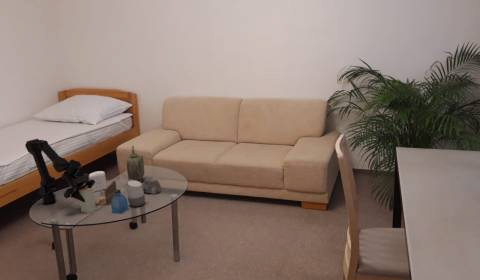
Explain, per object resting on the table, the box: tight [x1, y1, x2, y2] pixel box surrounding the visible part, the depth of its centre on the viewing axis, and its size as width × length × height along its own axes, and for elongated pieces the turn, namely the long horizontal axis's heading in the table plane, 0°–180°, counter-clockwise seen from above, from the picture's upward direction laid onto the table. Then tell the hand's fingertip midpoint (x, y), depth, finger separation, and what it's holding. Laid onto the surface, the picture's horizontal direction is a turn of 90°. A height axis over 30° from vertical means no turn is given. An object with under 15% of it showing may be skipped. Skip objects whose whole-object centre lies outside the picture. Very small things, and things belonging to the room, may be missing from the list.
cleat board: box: [95, 180, 117, 206], centre depth 254 cm, size 10×14×10 cm
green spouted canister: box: [125, 145, 145, 181], centre depth 282 cm, size 14×9×25 cm, turn 6°
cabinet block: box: [79, 188, 97, 214], centre depth 240 cm, size 6×6×12 cm
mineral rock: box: [141, 176, 162, 195], centre depth 265 cm, size 13×11×10 cm
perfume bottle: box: [110, 188, 129, 214], centre depth 238 cm, size 6×6×12 cm
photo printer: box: [88, 170, 108, 193], centre depth 273 cm, size 10×4×12 cm, turn 124°
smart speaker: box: [127, 179, 146, 208], centre depth 245 cm, size 10×9×14 cm
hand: (88, 199), depth 240 cm, fingers closed on cabinet block, 5 cm apart
